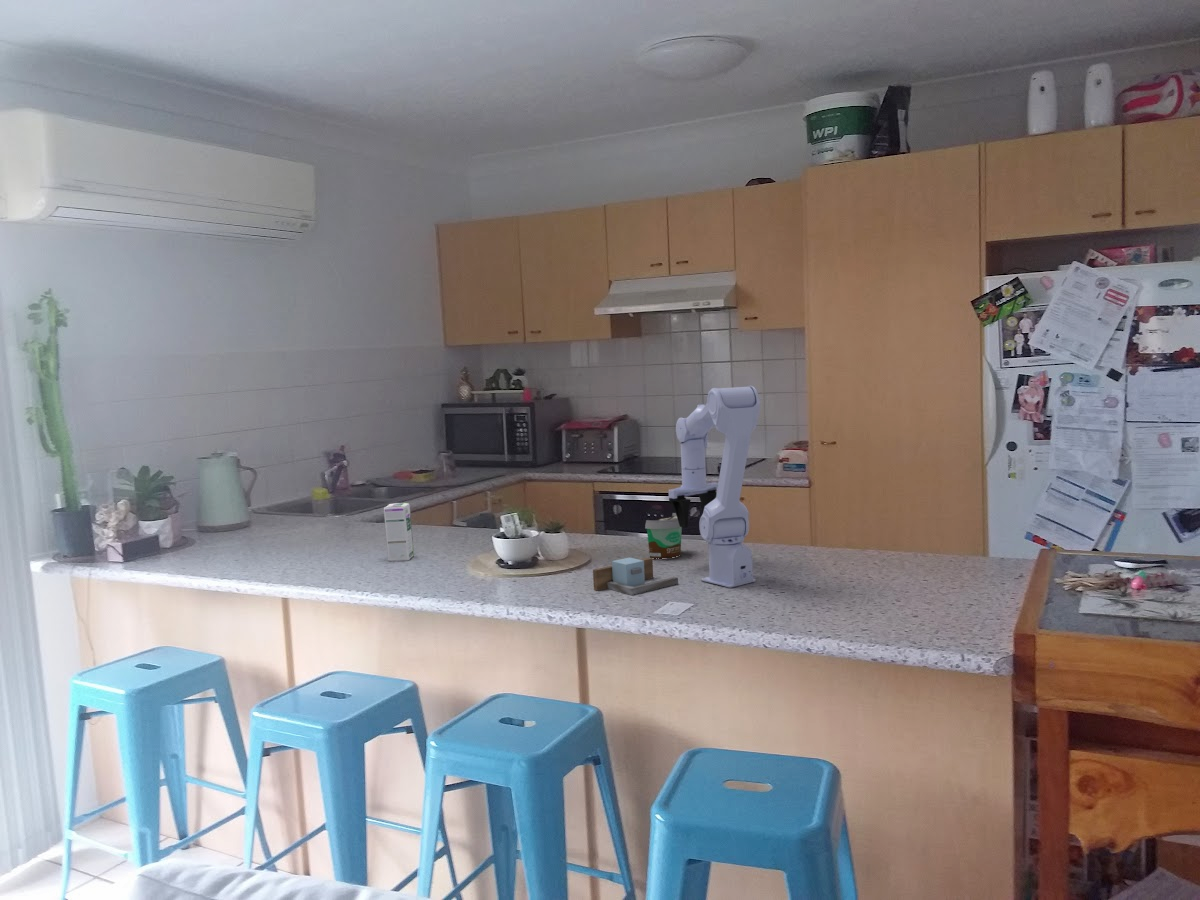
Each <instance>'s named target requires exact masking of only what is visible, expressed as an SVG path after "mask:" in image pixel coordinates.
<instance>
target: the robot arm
mask: <svg viewBox="0 0 1200 900" xmlns="http://www.w3.org/2000/svg"><path fill="white" fill-rule="evenodd" d="M760 411H761V400H760V395H759V392H758V390H757V389H756V387H754V386H753V385H748V386H736V387H719V388H718V387H712V388H711V389H710V390H709V391H708V392H707V398H706V403H705V404H704V403H703V404H697V406H696V408H695V409H694V410H693V411H692V412H691V413H690V414H689V415H688V416H687V417H684V418H683V417H679V418H678V419H677V421H676V425H675V433H676V435H675V436H676V438H677V441H679V443H680V461H681V462H680V464H681V485H680V486H678V487H676V488H672V489H671V488H670V489H668V501H669V504H670V505H671V507H672V508H673V510H674V513H676V515H677V518H678V522H679V525H680V527H682V528H684V529H685V528H686V529H687V528H688V526H689V510H690V505H691V501H692V500H691V499H689V498H686V497H688V496H694V495H698V497H699V500H700V506H701V513H702V515H701V516H700V518H699V524H698V525H699V533H700V536H701V537H702V539H703V540H704V541H705V542H706V543H708V567H709V568H708V572H709V573H708V574H709V576H706V577H701V579H700V580H701V581H702V582H705V583H709V584H714V585H718V586H723V587H727V588H735V587H739V586H742V585H746V584H750V583H754V582H756V581H757V580H756V578H754V573H753V571H754V569H753V568H754V566H753V565H754V563H753V553H752V550H751V549H750V548H749V546H747V545H745V544H743V542H745V538H747V536H748V534H749V531H750V522H749V519H750V518H749V517H750V512H749V510H748V508H747V506H746V505H745V504H744V503H743V502H741V500H740V499H741V493H742V487H743V481H744V476H745V469H746V464H747V460H748V454H749V448H750V447H749V446H750V443H751V442H750V441H751V436H752V432H753V431H754V430H755V429H756V428H757V426H758V420H759V416H760ZM714 427H715V428H716V429H715V430H716V431H717V432H719V433H722V434H723V435H725V440H724V445H723V446H724V447H723V452H722V458H721V464H720V471H719V475H718V482H708V483H707V474H706V473H707V471H706V464H707V463H706V449H707V448H708V447H707V446H708V438H709V431H711V429H713V428H714Z"/></svg>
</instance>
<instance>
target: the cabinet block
mask: <svg viewBox="0 0 1200 900" xmlns="http://www.w3.org/2000/svg"><path fill="white" fill-rule="evenodd" d="M611 566H612V574H613V582H616V583H620V584H623V585H627V586H631V587H634V586H638V585H642V584H646V583H645V581H646V579H645V577H644V561H643V560H640V559H638V558H633V557H631V556H630V557H625V558H621V559H616V560H611Z"/></svg>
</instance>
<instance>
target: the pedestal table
mask: <svg viewBox="0 0 1200 900" xmlns="http://www.w3.org/2000/svg"><path fill="white" fill-rule="evenodd" d="M639 560H643V561H644V577H645V580H649V579H648V578H650V579H654V566H653V565H654V564H653V562H654V559H652V558H650V557H645V558H641V559H639ZM592 576H593V577H592V579H593V591H596V590H597V591H602V590H606V588H607V589H609V590H613V591H616V592H619V593H622V594H625V595H626V594H627V595H629V596H634V594H635V595H639V594H643V593H647V592H651V591H650V590H652V591H654V589H656V590H659V589H658V588H660V589H663V587H664V588H667V587H668V588H669V587H671V586H676V585H679V578H678V577H675V576H673V577H669V578H664V579H659V580H656V581H652V582H647V583H645V584H642V585H638V586H634V587H631V586H627V585H623V584H620V583H616V582H613V574H612V565H609V566H603V567H598V568H594V569H592ZM675 584H676V585H675ZM646 591H647V592H646ZM642 592H643V593H642ZM638 593H639V594H638Z"/></svg>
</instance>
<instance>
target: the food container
mask: <svg viewBox="0 0 1200 900" xmlns="http://www.w3.org/2000/svg"><path fill="white" fill-rule="evenodd" d="M644 526H645V527H644V529H646V534H647V543H648V553H649V558H654V559H653V560H656V558H657V559H658V558H659V559H662V558H672V557H676V556H679V555H680V554H681V553H682V551H681V549H682V529H683V527H680V525H679V522H678V518H677V515H676V513H675V512H672V515H671V516H669V517H660V518H658V519H656V520H652V519H650V520H649V519H647V520H645V525H644ZM680 556H681V555H680ZM680 556H679V557H680Z"/></svg>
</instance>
